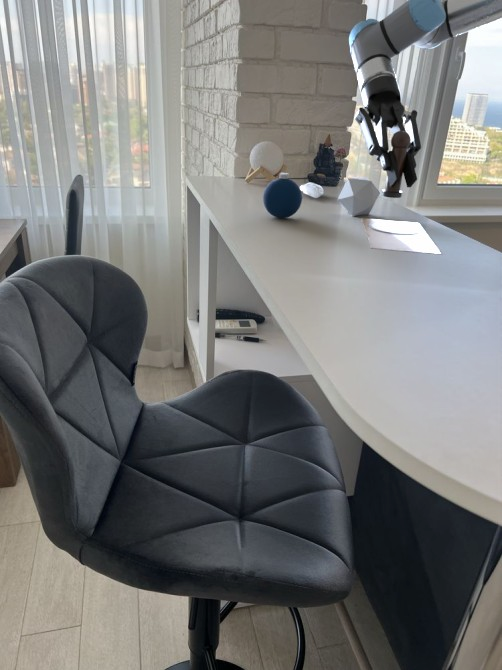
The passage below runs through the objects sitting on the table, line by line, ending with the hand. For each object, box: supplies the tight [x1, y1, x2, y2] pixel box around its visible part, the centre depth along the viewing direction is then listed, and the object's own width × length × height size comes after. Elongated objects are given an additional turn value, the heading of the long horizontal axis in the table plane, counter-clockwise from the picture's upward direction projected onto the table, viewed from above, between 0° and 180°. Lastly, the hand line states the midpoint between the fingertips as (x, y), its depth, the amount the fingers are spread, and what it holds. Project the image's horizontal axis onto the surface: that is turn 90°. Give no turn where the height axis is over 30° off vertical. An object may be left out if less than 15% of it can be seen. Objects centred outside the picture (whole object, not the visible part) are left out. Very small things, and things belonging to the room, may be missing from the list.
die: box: [336, 176, 381, 217], centre depth 116 cm, size 8×9×10 cm
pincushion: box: [299, 174, 324, 199], centre depth 134 cm, size 12×6×6 cm, turn 6°
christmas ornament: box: [262, 172, 303, 219], centre depth 109 cm, size 8×8×10 cm
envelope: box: [360, 217, 443, 255], centre depth 101 cm, size 13×24×1 cm, turn 173°
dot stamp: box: [381, 131, 411, 199], centre depth 101 cm, size 4×4×12 cm
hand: (403, 183), depth 99 cm, fingers closed on dot stamp, 3 cm apart
